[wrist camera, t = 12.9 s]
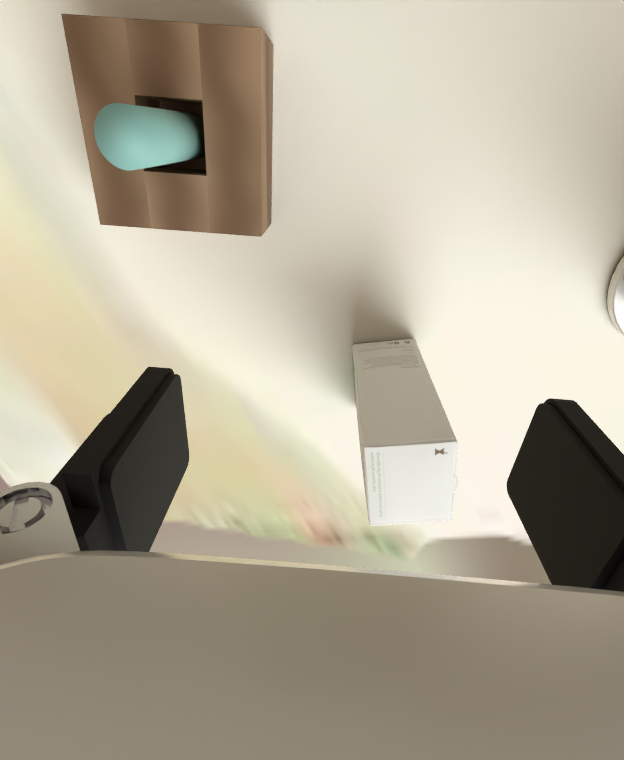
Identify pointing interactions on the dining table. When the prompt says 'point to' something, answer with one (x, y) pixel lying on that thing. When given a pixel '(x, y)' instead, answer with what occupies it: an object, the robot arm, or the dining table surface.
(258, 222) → the socket block
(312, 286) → the dining table surface
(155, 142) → the peg
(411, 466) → the skincare box
